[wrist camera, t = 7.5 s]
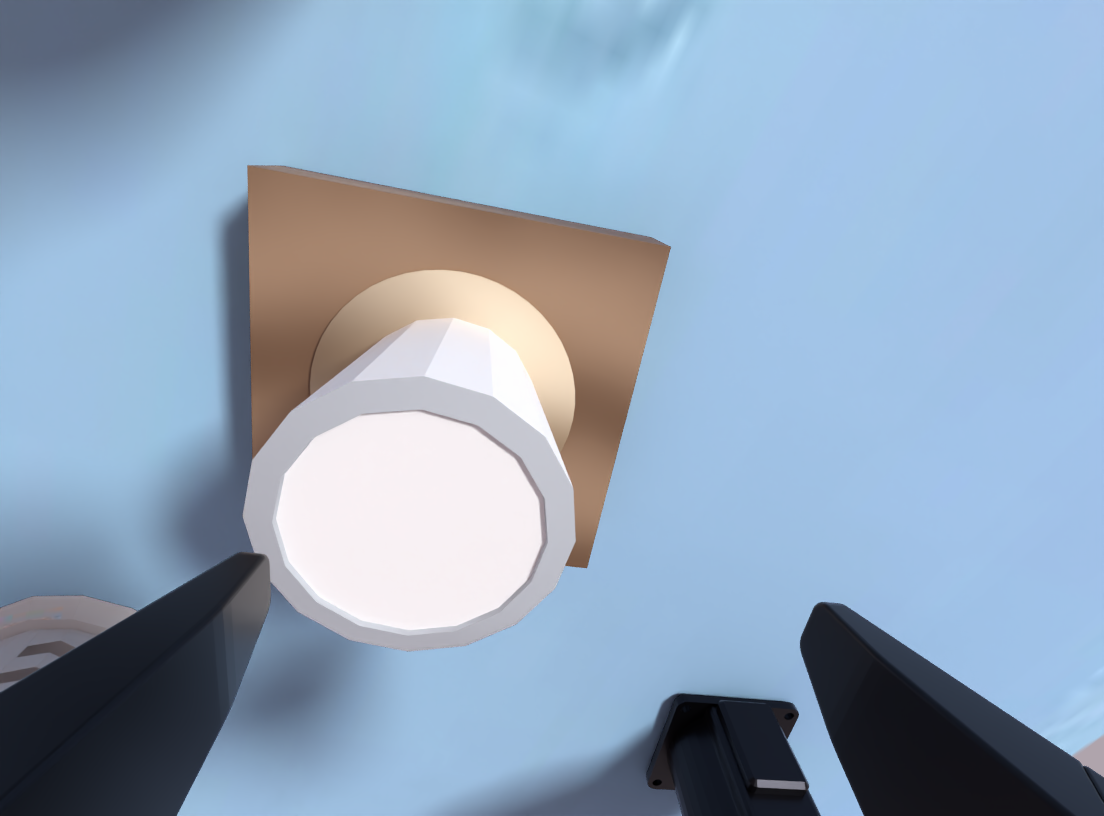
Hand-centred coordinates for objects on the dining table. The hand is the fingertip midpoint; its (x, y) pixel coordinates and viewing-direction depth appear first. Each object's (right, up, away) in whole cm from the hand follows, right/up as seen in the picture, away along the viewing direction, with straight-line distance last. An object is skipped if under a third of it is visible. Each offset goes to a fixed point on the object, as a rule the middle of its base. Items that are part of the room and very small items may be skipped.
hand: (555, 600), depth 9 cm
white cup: (-3, +3, +9) cm, 10 cm away
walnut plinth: (-4, +4, +11) cm, 13 cm away
